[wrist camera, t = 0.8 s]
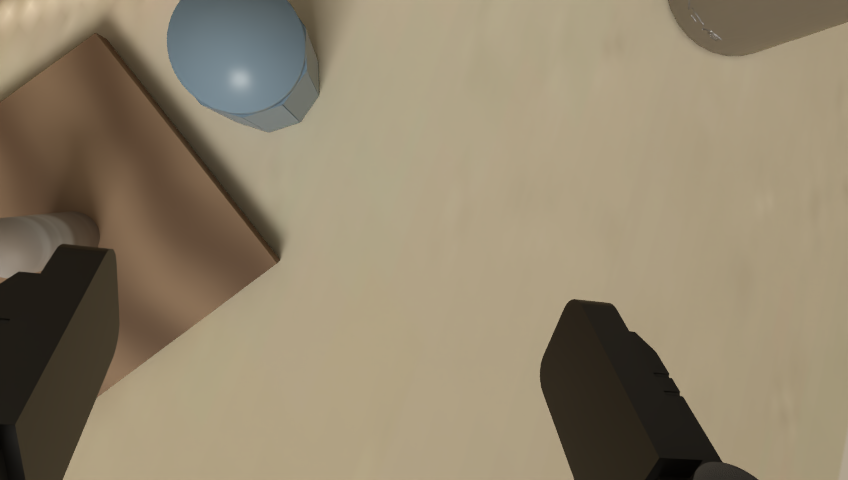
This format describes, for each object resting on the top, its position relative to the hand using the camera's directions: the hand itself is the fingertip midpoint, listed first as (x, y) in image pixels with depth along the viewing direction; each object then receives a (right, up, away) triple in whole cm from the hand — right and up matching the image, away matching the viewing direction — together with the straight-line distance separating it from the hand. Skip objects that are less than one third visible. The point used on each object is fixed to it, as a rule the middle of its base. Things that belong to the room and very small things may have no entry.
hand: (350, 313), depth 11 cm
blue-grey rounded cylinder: (-8, +11, +25) cm, 29 cm away
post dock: (-19, +2, +25) cm, 31 cm away
